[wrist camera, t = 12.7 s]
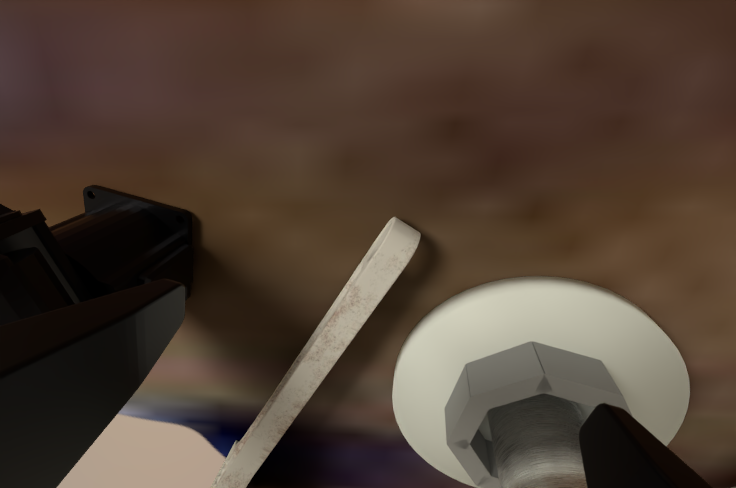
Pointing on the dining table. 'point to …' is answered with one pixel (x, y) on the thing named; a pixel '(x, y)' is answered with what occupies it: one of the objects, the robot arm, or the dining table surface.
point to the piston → (538, 443)
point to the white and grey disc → (530, 366)
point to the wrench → (321, 351)
